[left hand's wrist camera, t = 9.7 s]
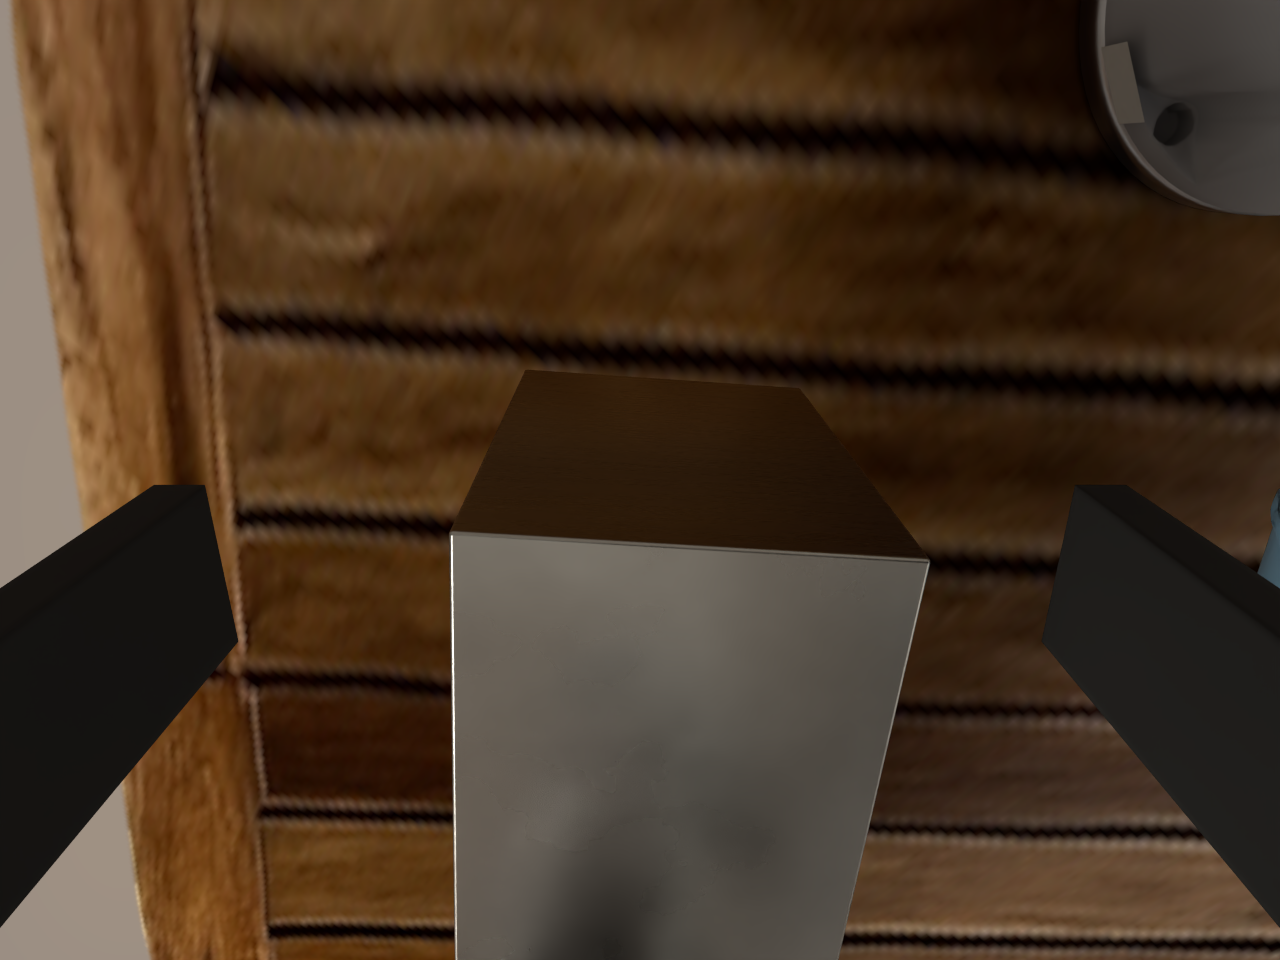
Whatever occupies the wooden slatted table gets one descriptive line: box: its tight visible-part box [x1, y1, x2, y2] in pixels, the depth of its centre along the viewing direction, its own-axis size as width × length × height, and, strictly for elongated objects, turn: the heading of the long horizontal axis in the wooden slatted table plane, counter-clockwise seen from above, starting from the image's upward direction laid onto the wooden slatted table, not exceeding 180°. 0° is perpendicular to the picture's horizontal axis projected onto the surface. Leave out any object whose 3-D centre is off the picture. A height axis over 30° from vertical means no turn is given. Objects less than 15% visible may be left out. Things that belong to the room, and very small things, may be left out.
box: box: [449, 370, 930, 960], centre depth 23 cm, size 28×8×11 cm, turn 176°
